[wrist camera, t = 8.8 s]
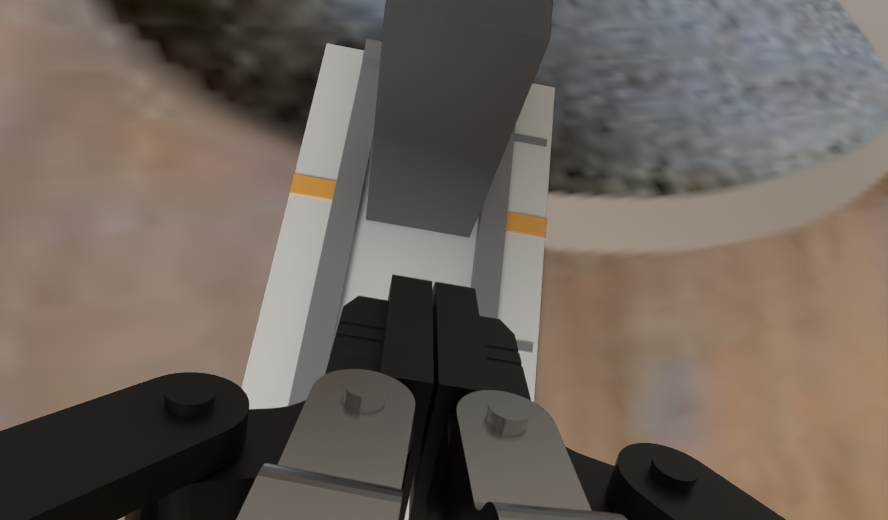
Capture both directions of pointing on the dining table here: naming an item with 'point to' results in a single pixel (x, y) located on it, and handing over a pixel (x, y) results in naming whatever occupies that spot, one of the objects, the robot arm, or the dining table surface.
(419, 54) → the fader tab
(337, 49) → the fader console
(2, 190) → the dining table surface
